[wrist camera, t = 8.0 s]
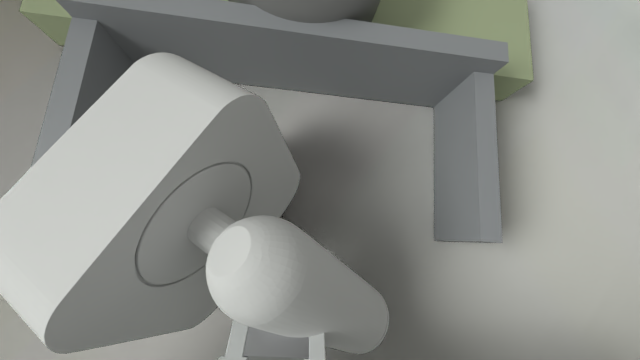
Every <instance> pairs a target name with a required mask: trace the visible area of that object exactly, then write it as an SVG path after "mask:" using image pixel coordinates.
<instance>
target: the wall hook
mask: <svg viewBox="0 0 640 360" xmlns="http://www.w3.org/2000/svg"><path fill="white" fill-rule="evenodd" d="M299 181H300V172H299V170H298V167H297V165H296V163H295V161H294V159H293V157H292V155H291V153H290V151H289V148H288V146H287V144H286V142H285V140H284V138H283V136H282V134H281V132H280V130H279V128H278V126H277V123H276V121H275V119H274V117H273V115H272V113H271V111H270V109H269V107H268V105H267V104H266V102H265V101H264V100H263V99H262V98H261V97H259V96H257V95H255V94H253V93H251V92H249V91H247V90H245V89H243V88H241V87H239V86H237V85H235V84H233V83H231V82H230V81H228V80H226V79H224V78H222V77H220V76H218V75H216V74H214V73H212V72H210V71H208V70H206V69H204V68H202V67H200V66H198V65H196V64H194V63H192V62H190V61H188V60H186V59H184V58H182V57H180V56H178V55H175V54H172V53H166V52H161V53H154V54H149V55H147V56H145V57H143V58H141V59H139V60H138V61H136V62H135V63H134V64H133V65H132V66H131V67H130V68H129V69H128V70H127V71H126V72H125V73H124V74H123V75H122V76H121V77H120V78H119V79H118V80H117V81H116V82H115V83H114V84H113V85H112V86H111V87H110V88H109V89H108V90H107V91H106V92H105V93H104V94H103V95H102V96H101V97H100V98H99V99H98V100H97V101H96V102H95V103H94V104H93V105H92V106H91V107H90V108H89V109H88V110H87V111H86V112H85V113H84V114H83V115H82V116H81V117H80V118H79V119H78V120H77V121H76V122H75V123H74V124H73V125H72V126H71V127H70V128H69V129H68V130H67V131H66V133H65V134H64V135H63V136H62V137H61V138H60V139H59V140H58V141H57V142H56V143H55V144H54V145H53V146H52V147H51V148H50V149H49V150H48V151H47V152H46V153H45V154H44V155H43V156H42V157H41V158H40V159H39V160H38V161H37V162H36V163H35V164H34V165H33V166H32V167H31V168H30V169H29V170H28V171H27V172H26V173H25V174H24V175H23V176H22V177H21V178H20V180H19V181H18V182H17V183H16V184H15V185H14V186H13V187H12V188H11V189H10V190H9V191H8V192H7V193H6V194H5V195H4V196H3V197H2V198H1V199H0V294H1V295H2V297H3V298H4V299H5V300H6V301H7V302H8V303H9V305H10V306H11V307H12V308H13V309H14V310H15V311H16V313H17V314H18V315H19V316H20V317H21V318H22V319H23V321H24V322H25V323H26V324H27V325H28V326H29V327H30V328H31V330H32V331H33V332H34V333H35V334H36V335H37V336H38V338H39V339H40V340H41V341H42V342H43V343H44V344H45V346H46V347H47V348H48V349H49V350H51V351H53V352H55V353H62V354H67V353H72V352H78V351H83V350H88V349H93V348H98V347H104V346H109V345H114V344H118V343H123V342H128V341H133V340H138V339H143V338H148V337H153V336H157V335H162V334H167V333H172V332H177V331H182V330H186V329H190V328H193V327H195V326H196V325H198V324H200V323H201V322H202V321H203V320H205V319H206V318H207V317H208V316H209V315H210V314H211V313H212V312H213V311H214V310H215V309H216V308H217V307H219V308H220V310H221V311H222V312H223V313H225V314H226V315H227V316H228V317H230V318H231V319H232V320H234V321H236V322H238V323H240V324H242V325H245V326H249V327H252V328H256V329H259V330H263V331H266V332H270V333H274V334H278V335H282V336H286V337H294V338H303V337H308V338H309V337H311V336H316V335H319V334H322V333H325V347H329V348H333V349H337V350H341V351H345V352H349V353H353V354H364V353H368V352H370V351H372V350H374V349H375V348H376V347H377V346H378V345H379V344H380V343H381V342H382V341H383V339H384V337H385V335H386V333H387V330H388V326H389V311H388V307H387V304H386V302H385V300H384V298H383V297H382V295H381V294H380V293H379V292H378V291H377V290H376V289H375V288H373V287H372V286H371V285H370V284H368V283H367V282H366V281H365V280H364V279H362V278H361V277H360V276H359V275H357V274H356V273H355V272H354V271H352V270H351V269H350V268H349V267H347V266H346V265H345V264H344V263H342V262H341V261H340V260H339V259H338V258H336V257H335V256H334V255H333V254H331V253H330V252H329V251H328V250H326V249H325V248H324V247H323V246H321V245H320V244H319V243H318V242H316V241H315V240H314V239H313V238H311V237H310V236H309V235H308V234H306V233H305V232H304V231H302V230H301V229H300V228H299V227H297V226H296V225H294V224H293V223H291V222H289V221H287V220H284V219H282V218H280V217H281V215H282V214H283V212H284V211H285V210H286V208H287V207H288V205H289V204H290V202H291V200H292V199H293V197H294V195H295V193H296V191H297V188H298V185H299Z"/></svg>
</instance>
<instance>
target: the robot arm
mask: <svg viewBox="0 0 640 360" xmlns="http://www.w3.org/2000/svg"><path fill="white" fill-rule="evenodd" d="M217 360H326V355H325V333H322V334H319V335H316V336H311V337H309V338H308V337H303V338H294V337H286V336H282V335H278V334H274V333H270V332H266V331H263V330H259V329H256V328H252V327H249V326H245V325H242V324H240V323H238V322H236V321H234V320H233V323H232V327H231V332H230V336H229V340H228V345H227V349H226V354H225V356H220V357H219V358H218V359H217Z"/></svg>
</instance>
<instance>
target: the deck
mask: <svg viewBox="0 0 640 360" xmlns="http://www.w3.org/2000/svg"><path fill="white" fill-rule="evenodd" d="M19 11H20V12H21V13H22V14H23V15H24V16H26V17H27V18H28V19H29V20H30V21H31V22H33V23H34V24H35V25H36V26H37V27H38V28H40V29H41V30H42V31H43V32H44V33H46V34H47V35H48V36H49V37H50V38H51V39H53V40H54V41H55V42H56V43H57V44H58V45H62V46H64V48H63V52H62V55H61V59H60V63H59V66H58V70H57V73H56V77H55V81H54V84H53V88H52V92H51V95H50V99H49V103H48V106H47V110H46V114H45V117H44V121H43V124H42V128H41V132H40V135H39V139H38V143H37V146H36V150H35V154H34V157H33V161H32V165H31V167H32V166H33V165H34V164H35V163H36V162H37V161H38V160H39V159H40V158H41V157H42V156H43V155H44V154H45V153H46V152H47V151H48V150H49V149H50V148H51V147H52V146H53V145H54V144H55V143H56V142H57V141H58V140H59V139H60V138H61V137H62V136H63V135H64V134H65V133H66V131H67V130H68V129H69V128H70V127H71V126H72V125H73V124H74V123H75V122H76V121H77V120H78V119H79V118H80V117H81V116H82V115H83V114H84V113H85V112H86V111H87V110H88V109H89V108H90V107H91V106H92V105H93V104H94V103H95V102H96V101H97V100H98V99H99V98H100V97H101V96H102V95H103V94H104V93H105V92H106V91H107V90H108V89H109V88H110V87H111V86H112V85H113V84H114V83H115V82H116V81H117V80H118V79H119V78H120V77H121V76H122V75H123V74H124V73H125V72H126V71H127V70H128V69H129V68H130V67H131V66H132V65H133V64H134V63H135V62H136V61H138V60H139V59H141V58H143V57H145V56H147V55H149V54H154V53H161V52H166V53H172V54H175V55H178V56H180V57H182V58H184V59H186V60H188V61H190V62H192V63H194V64H196V65H198V66H200V67H202V68H204V69H206V70H208V71H210V72H212V73H214V74H216V75H218V76H220V77H222V78H224V79H226V80H228V81H230V82H231V83H236V84H245V85H253V86H261V87H270V88H278V89H286V90H294V91H303V92H311V93H319V94H327V95H336V96H344V97H352V98H360V99H369V100H377V101H385V102H394V103H402V104H410V105H418V106H427V107H434V237H435V241H448V242H484V243H502V224H501V205H500V185H499V166H498V147H497V127H496V108H495V100H498V101H502V100H503V99H505V98H507V97H508V96H510V95H511V94H513V93H514V92H516V91H518V90H519V89H521V88H522V87H524V86H526V85H527V84H529V83H530V82H532V81H533V68H532V55H531V43H530V31H529V18H528V6H527V0H22V3H21V6H20V10H19Z"/></svg>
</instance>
